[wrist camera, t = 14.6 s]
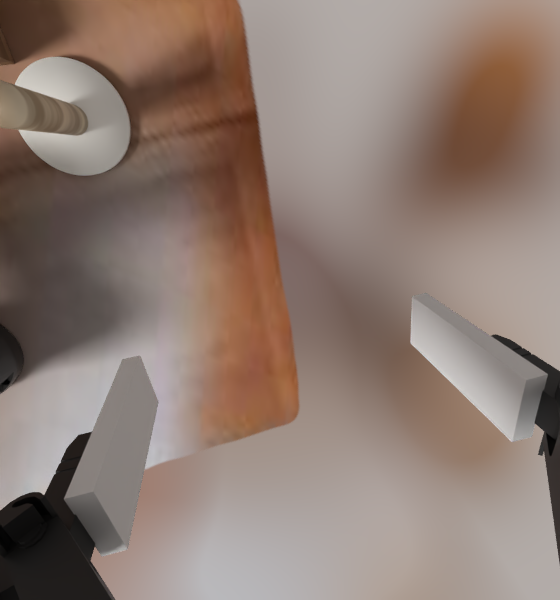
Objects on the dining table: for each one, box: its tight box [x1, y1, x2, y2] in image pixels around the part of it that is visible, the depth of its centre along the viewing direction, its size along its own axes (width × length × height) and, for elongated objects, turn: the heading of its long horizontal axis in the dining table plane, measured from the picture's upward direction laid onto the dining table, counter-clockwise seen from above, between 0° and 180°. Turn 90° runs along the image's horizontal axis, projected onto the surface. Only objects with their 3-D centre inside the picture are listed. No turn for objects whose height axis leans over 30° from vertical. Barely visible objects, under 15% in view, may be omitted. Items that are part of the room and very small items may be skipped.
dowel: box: [0, 80, 88, 136], centre depth 34 cm, size 4×4×16 cm
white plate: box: [15, 57, 131, 176], centre depth 42 cm, size 13×13×1 cm
